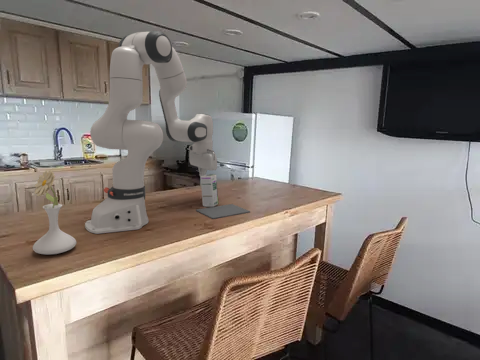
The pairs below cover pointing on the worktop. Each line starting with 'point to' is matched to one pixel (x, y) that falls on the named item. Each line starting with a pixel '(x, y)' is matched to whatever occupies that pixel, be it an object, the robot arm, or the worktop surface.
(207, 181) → the syrup box
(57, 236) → the flower in vase
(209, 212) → the rubber mat
